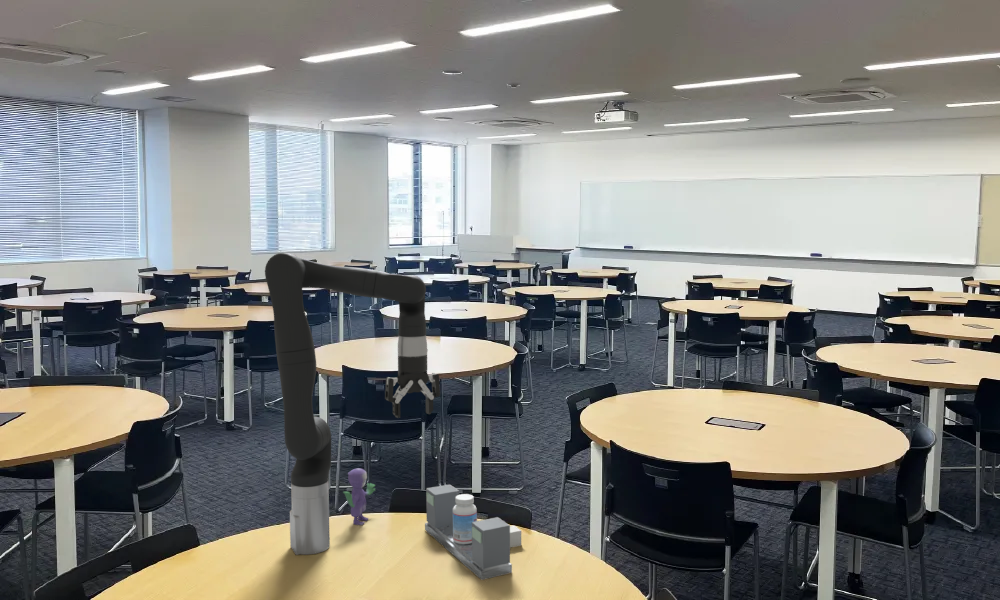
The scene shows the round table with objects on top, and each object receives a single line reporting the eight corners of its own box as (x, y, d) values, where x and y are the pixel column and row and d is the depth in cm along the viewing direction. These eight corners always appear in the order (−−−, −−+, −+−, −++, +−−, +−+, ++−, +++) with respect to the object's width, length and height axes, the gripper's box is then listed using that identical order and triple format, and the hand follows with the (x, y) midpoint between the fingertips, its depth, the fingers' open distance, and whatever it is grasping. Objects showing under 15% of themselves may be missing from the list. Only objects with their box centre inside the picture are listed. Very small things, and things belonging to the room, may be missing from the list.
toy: (354, 534, 197) (353, 479, 196) (334, 533, 198) (333, 478, 197) (379, 510, 215) (378, 459, 214) (361, 509, 216) (360, 458, 215)
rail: (481, 579, 170) (481, 569, 170) (425, 530, 200) (424, 521, 200) (511, 572, 174) (511, 562, 174) (451, 524, 204) (451, 516, 204)
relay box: (500, 550, 187) (500, 534, 187) (493, 544, 191) (493, 529, 191) (521, 545, 190) (521, 530, 190) (514, 540, 194) (514, 525, 193)
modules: (482, 569, 170) (482, 531, 170) (425, 521, 200) (425, 488, 199) (509, 562, 174) (509, 525, 173) (450, 516, 204) (450, 484, 203)
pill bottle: (480, 543, 185) (480, 499, 184) (456, 546, 183) (456, 502, 182) (472, 534, 191) (472, 491, 190) (450, 537, 189) (449, 494, 188)
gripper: (432, 349, 197) (432, 409, 198) (381, 353, 190) (382, 415, 191) (443, 353, 190) (444, 415, 191) (391, 357, 183) (391, 421, 184)
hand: (413, 415), depth 191 cm, fingers open, 8 cm apart
